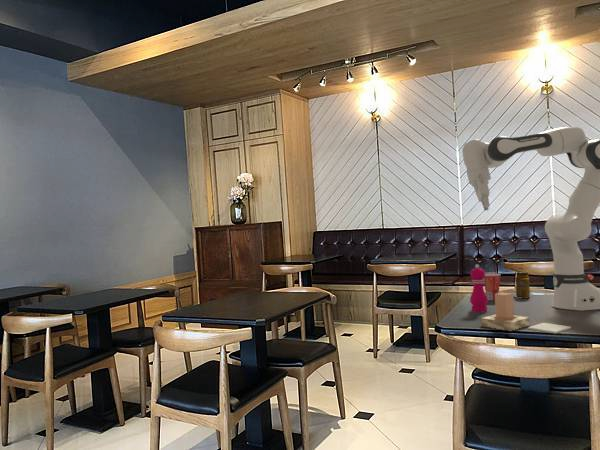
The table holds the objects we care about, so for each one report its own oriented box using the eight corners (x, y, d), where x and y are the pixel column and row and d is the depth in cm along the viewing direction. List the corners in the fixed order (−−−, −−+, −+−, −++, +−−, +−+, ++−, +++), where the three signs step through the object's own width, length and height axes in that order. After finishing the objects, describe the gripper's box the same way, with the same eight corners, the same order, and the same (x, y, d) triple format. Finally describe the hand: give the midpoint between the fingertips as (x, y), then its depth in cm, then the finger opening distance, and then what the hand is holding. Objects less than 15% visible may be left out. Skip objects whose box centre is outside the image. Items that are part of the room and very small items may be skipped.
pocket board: (500, 320, 192) (500, 313, 192) (529, 325, 182) (529, 317, 182) (481, 326, 185) (481, 318, 185) (510, 331, 175) (510, 322, 175)
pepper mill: (489, 312, 208) (487, 265, 208) (471, 312, 210) (469, 265, 210) (486, 308, 216) (484, 263, 215) (469, 309, 217) (467, 263, 217)
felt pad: (543, 324, 183) (543, 322, 183) (570, 328, 175) (570, 326, 175) (528, 328, 177) (528, 327, 177) (555, 333, 169) (555, 331, 169)
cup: (500, 297, 240) (499, 272, 240) (503, 300, 232) (502, 275, 231) (480, 297, 242) (479, 273, 242) (482, 301, 234) (481, 275, 233)
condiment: (533, 296, 238) (532, 271, 238) (526, 299, 232) (525, 273, 232) (518, 295, 243) (516, 271, 243) (510, 298, 237) (509, 273, 237)
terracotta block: (503, 323, 187) (501, 292, 187) (514, 325, 183) (512, 293, 183) (496, 325, 184) (494, 294, 184) (507, 327, 181) (505, 295, 180)
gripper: (488, 170, 199) (496, 203, 197) (485, 180, 219) (493, 210, 216) (471, 174, 201) (480, 207, 199) (471, 183, 220) (478, 213, 218)
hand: (487, 208), depth 208 cm, fingers open, 8 cm apart
